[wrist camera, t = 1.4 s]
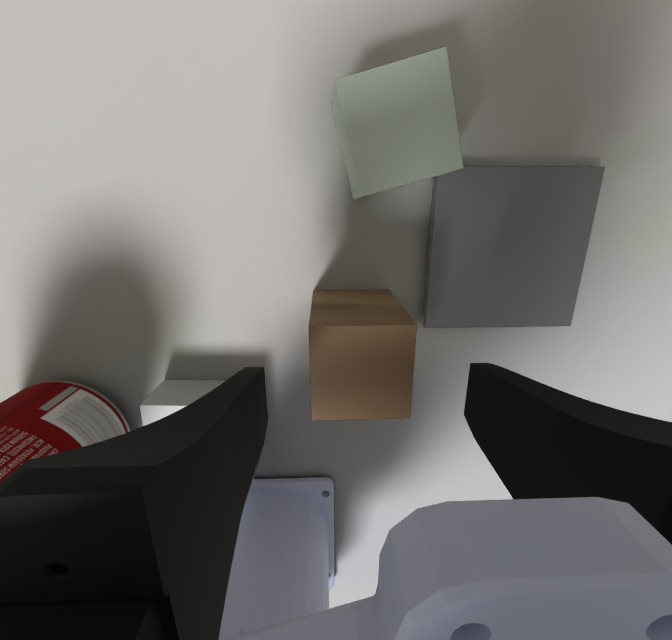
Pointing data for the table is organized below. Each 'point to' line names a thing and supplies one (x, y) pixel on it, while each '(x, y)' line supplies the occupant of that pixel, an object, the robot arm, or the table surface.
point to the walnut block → (360, 355)
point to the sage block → (397, 123)
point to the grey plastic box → (176, 399)
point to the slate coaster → (508, 245)
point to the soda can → (54, 422)
